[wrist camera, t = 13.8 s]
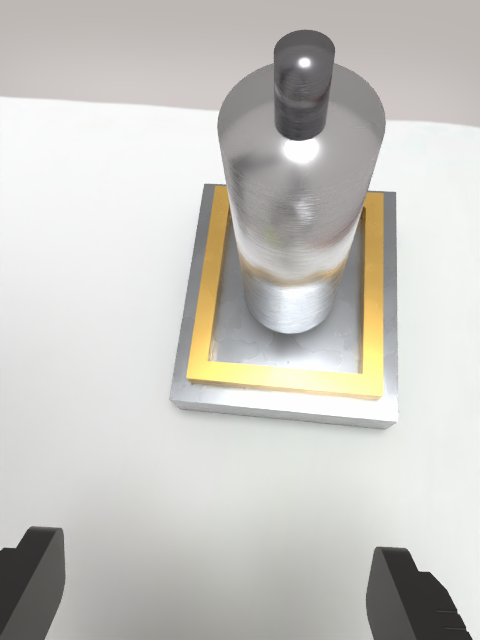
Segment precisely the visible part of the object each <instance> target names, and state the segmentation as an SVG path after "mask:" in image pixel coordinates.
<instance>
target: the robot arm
mask: <svg viewBox="0 0 480 640" xmlns="http://www.w3.org/2000/svg"><path fill="white" fill-rule="evenodd" d="M64 585H65V557H64V535H63V530H62V528H52V527H34V526H32V527H30V528H29V529H28V530H27V531H26V533H25V535H24V536H23V538H22V539H21V541H20V543H19V544H18V546H17V548H3V549H2V550H1V551H0V640H44V639H45V637H46V635H47V632H48V630H49V628H50V625H51V623H52V621H53V618H54V616H55V614H56V611H57V609H58V607H59V604H60V602H61V599H62V595H63V591H64ZM366 609H367V616H368V621H369V625H370V628H371V631H372V635H373V638H374V640H472V638H471V636H470V634H469V632H467V631H466V626H465V624H464V622H463V620H462V618H461V616H460V615H459V614H458V613H457V609H456V607H455V605H454V603H453V601H452V599H451V597H450V595H449V593H448V591H447V590H446V589H445V588H444V586H443V585H442V584H441V583H440V582H439V581H438V580H437V579H436V578H435V577H434V576H433V575H432V574H431V573H430V572H419V571H418V569H417V567H416V565H415V563H414V561H413V559H412V556H411V554H410V552H409V551H408V550H407V549H406V548H394V547H376V548H375V550H374V554H373V560H372V565H371V571H370V576H369V582H368V587H367V593H366Z"/></svg>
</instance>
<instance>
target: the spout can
mask: <svg viewBox="0 0 480 640" xmlns="http://www.w3.org/2000/svg"><path fill="white" fill-rule="evenodd" d="M334 55H335V47H334V44H333V43H332V41H331V40H330V39H329V38H328V37H327V36H326V35H324V34H322V33H320V32H317V31H313V30H299V31H294V32H291V33H289V34H287V35H285V36H284V37H282V38H281V39H280V40H279V41H278V42H277V44H276V46H275V48H274V63H273V64H270V65H267V66H265V67H262V68H260V69H258V70H256V71H254V72H252V73H251V74H249V75H247V76H246V77H245V78H244V79H242V80H241V81H240V82H239V83H238V84H237V85H235V86H234V87H233V89H232V90H231V91H230V92H229V94H228V95H227V97H226V98H225V100H224V102H223V104H222V107H221V109H220V112H219V116H218V126H217V128H218V137H219V143H220V149H221V155H222V161H223V167H224V173H225V179H226V185H227V191H228V197H229V203H230V209H231V214H232V220H233V226H234V232H235V238H236V244H237V250H238V256H239V262H240V268H241V274H242V280H243V286H244V292H245V298H246V302H247V305H248V308H249V310H250V311H251V313H252V315H253V316H254V317H255V318H256V319H257V320H258V321H259V322H260V323H261V324H262V325H264V326H265V327H267V328H269V329H271V330H274V331H277V332H281V333H300V332H304V331H307V330H310V329H312V328H314V327H316V326H317V325H319V324H320V323H321V322H322V321H323V320H325V318H326V317H327V316H328V315H329V313H330V312H331V310H332V308H333V305H334V302H335V299H336V295H337V292H338V289H339V285H340V282H341V279H342V275H343V272H344V268H345V265H346V262H347V258H348V255H349V252H350V248H351V245H352V242H353V238H354V235H355V231H356V228H357V225H358V221H359V218H360V215H361V211H362V208H363V205H364V201H365V198H366V194H367V191H368V188H369V184H370V181H371V178H372V174H373V171H374V167H375V164H376V161H377V157H378V154H379V151H380V147H381V144H382V141H383V137H384V133H385V124H386V121H385V113H384V109H383V105H382V103H381V101H380V98H379V97H378V95H377V93H376V92H375V91H374V89H373V88H372V87H371V86H370V85H369V83H367V82H366V81H365V80H364V79H363V78H362V77H360V76H359V75H357V74H356V73H354V72H353V71H351V70H349V69H347V68H345V67H343V66H340V65H338V64H335V63H334Z"/></svg>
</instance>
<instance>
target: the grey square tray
mask: <svg viewBox="0 0 480 640" xmlns="http://www.w3.org/2000/svg"><path fill="white" fill-rule="evenodd" d="M169 400H170V401H172V402H173V403H174V404H175V405H176V406H177V407H179V408H180V409H186V410H196V411H206V412H216V413H226V414H236V415H246V416H257V417H267V418H277V419H287V420H297V421H307V422H318V423H328V424H338V425H348V426H358V427H368V428H379V429H386V428H388V427H390V426H392V425H393V424H395V423H397V422H398V356H397V247H396V192H384V191H367V194H366V198H365V201H364V205H363V208H362V211H361V215H360V218H359V221H358V225H357V228H356V231H355V235H354V238H353V242H352V245H351V248H350V252H349V255H348V258H347V262H346V265H345V268H344V272H343V275H342V279H341V282H340V285H339V289H338V292H337V295H336V299H335V302H334V305H333V308H332V310H331V312H330V313H329V315H328V316H327V317H326V318H325V320H323V321H322V322H321V323H320V324H319V325H317V326H316V327H314V328H312V329H310V330H307V331H304V332H300V333H281V332H277V331H274V330H271V329H269V328H267V327H265V326H264V325H262V324H261V323H260V322H259V321H258V320H257V319H256V318H255V317H254V316H253V315H252V313H251V311H250V310H249V308H248V305H247V302H246V298H245V292H244V286H243V280H242V274H241V268H240V262H239V256H238V250H237V244H236V238H235V232H234V226H233V220H232V214H231V209H230V203H229V197H228V191H227V185H223V184H204V189H203V195H202V201H201V207H200V214H199V220H198V226H197V232H196V238H195V244H194V251H193V257H192V263H191V269H190V275H189V282H188V288H187V294H186V300H185V306H184V312H183V319H182V325H181V331H180V337H179V343H178V350H177V356H176V362H175V368H174V374H173V380H172V387H171V393H170V399H169Z"/></svg>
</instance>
